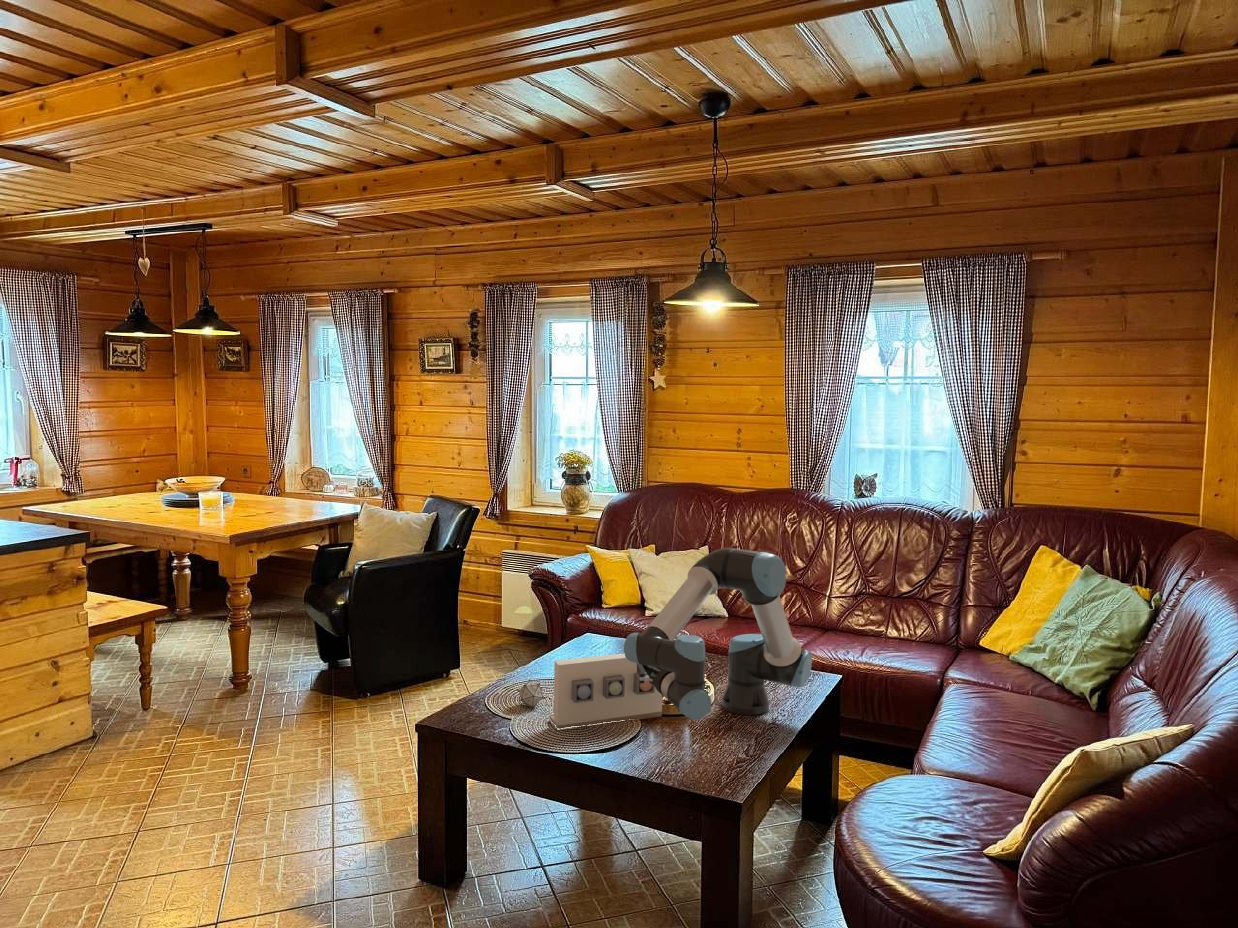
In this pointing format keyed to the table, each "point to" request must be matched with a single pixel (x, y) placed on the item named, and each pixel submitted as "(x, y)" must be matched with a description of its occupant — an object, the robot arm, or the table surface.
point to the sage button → (614, 687)
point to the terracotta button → (645, 685)
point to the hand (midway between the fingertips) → (638, 656)
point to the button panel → (601, 692)
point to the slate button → (583, 691)
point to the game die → (531, 694)
